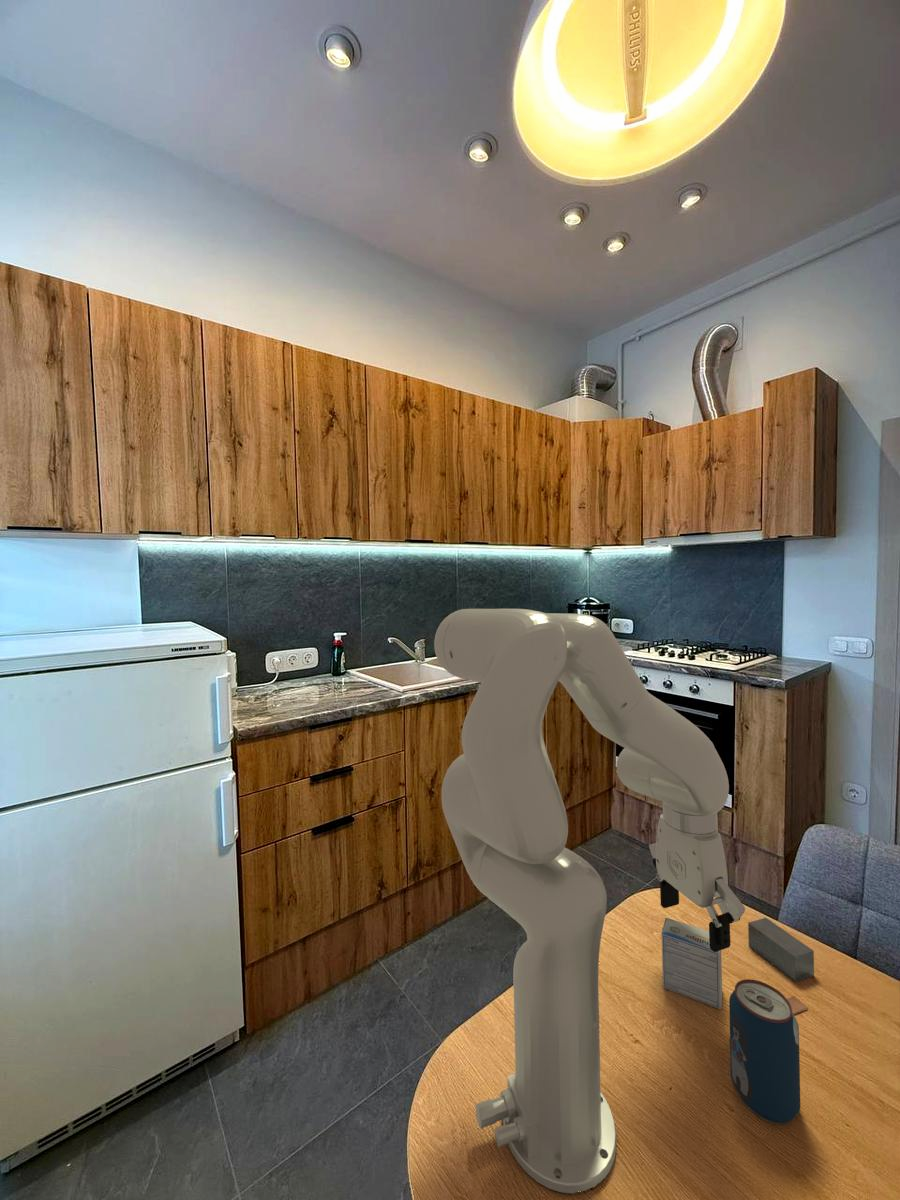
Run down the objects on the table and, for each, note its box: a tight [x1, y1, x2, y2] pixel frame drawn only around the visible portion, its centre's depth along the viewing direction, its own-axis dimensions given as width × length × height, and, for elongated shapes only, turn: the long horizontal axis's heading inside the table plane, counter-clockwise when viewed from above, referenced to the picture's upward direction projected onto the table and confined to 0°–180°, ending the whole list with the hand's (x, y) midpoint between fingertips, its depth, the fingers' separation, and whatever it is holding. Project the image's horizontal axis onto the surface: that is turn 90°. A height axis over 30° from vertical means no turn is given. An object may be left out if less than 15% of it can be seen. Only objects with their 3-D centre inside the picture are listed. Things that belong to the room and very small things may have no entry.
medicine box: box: [660, 917, 723, 1010], centre depth 71 cm, size 8×4×9 cm, turn 58°
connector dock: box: [747, 917, 815, 1016], centre depth 75 cm, size 15×16×4 cm
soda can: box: [728, 978, 801, 1125], centre depth 55 cm, size 7×7×12 cm
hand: (693, 925), depth 71 cm, fingers open, 9 cm apart
